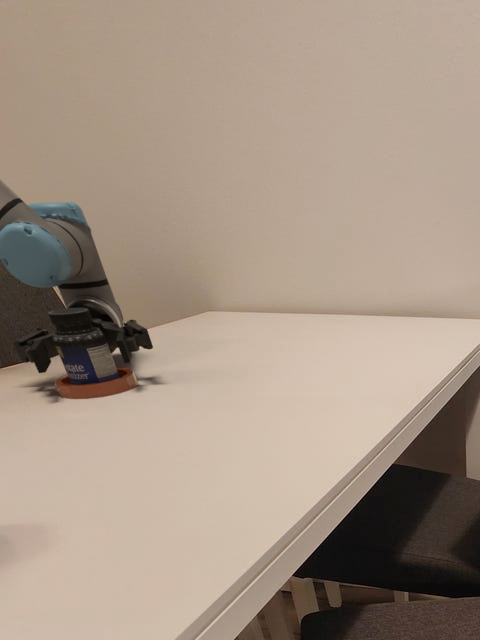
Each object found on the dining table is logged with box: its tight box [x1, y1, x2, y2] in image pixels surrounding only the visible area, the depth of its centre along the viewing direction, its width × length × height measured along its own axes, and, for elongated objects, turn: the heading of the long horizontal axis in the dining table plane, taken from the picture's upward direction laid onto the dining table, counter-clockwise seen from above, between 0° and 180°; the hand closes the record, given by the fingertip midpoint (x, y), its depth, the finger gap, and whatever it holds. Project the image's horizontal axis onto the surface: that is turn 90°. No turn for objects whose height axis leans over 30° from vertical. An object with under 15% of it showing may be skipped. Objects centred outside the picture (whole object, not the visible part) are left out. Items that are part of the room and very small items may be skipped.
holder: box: [54, 367, 139, 400], centre depth 83 cm, size 10×10×4 cm
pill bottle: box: [47, 308, 120, 385], centre depth 80 cm, size 6×6×11 cm
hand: (81, 356), depth 76 cm, fingers open, 9 cm apart
